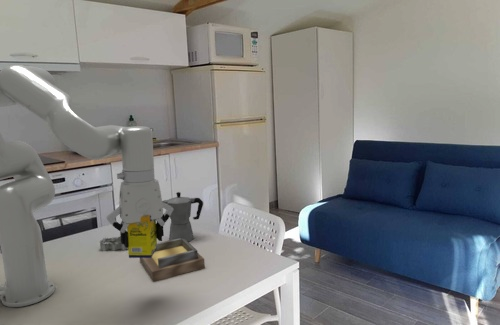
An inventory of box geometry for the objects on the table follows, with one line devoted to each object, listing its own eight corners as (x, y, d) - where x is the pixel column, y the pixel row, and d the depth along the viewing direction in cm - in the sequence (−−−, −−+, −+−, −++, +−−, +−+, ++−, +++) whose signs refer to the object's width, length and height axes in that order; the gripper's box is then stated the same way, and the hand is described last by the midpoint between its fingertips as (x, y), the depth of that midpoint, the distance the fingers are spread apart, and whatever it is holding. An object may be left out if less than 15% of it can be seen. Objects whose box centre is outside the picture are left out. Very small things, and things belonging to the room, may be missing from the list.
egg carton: (135, 243, 138) (134, 232, 137) (127, 251, 130) (126, 240, 130) (106, 243, 138) (105, 233, 138) (97, 251, 131) (96, 240, 130)
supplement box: (152, 258, 94) (149, 216, 92) (128, 258, 94) (125, 216, 92) (157, 248, 100) (155, 209, 98) (135, 248, 100) (133, 209, 98)
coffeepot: (161, 244, 135) (157, 196, 132) (166, 235, 144) (162, 189, 141) (204, 242, 135) (201, 194, 132) (206, 233, 145) (203, 188, 141)
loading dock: (153, 281, 107) (151, 263, 106) (140, 261, 121) (138, 245, 120) (204, 267, 115) (203, 251, 114) (186, 250, 129) (185, 235, 128)
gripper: (104, 183, 86) (109, 254, 89) (177, 175, 94) (180, 240, 97) (99, 177, 92) (105, 244, 95) (168, 170, 101) (171, 232, 104)
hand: (142, 242), depth 96 cm, fingers closed on supplement box, 8 cm apart
